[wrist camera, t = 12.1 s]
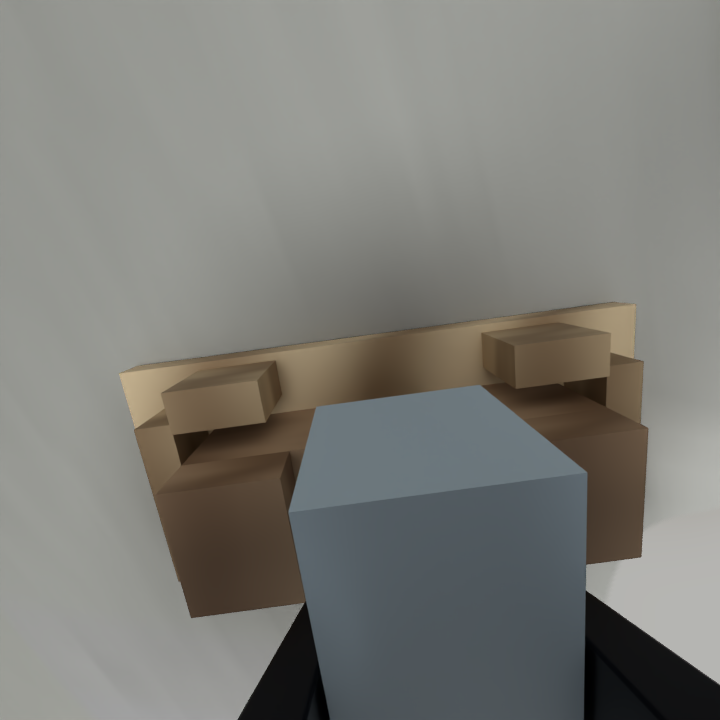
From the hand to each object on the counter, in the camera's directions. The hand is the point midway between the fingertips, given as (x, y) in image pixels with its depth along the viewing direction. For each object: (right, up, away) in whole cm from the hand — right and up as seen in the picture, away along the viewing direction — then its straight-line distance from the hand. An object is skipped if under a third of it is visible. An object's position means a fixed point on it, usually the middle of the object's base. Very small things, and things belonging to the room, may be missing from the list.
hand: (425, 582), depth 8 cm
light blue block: (0, +1, +1) cm, 2 cm away
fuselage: (0, +2, +7) cm, 7 cm away
